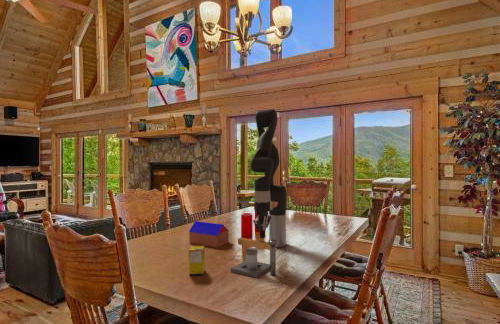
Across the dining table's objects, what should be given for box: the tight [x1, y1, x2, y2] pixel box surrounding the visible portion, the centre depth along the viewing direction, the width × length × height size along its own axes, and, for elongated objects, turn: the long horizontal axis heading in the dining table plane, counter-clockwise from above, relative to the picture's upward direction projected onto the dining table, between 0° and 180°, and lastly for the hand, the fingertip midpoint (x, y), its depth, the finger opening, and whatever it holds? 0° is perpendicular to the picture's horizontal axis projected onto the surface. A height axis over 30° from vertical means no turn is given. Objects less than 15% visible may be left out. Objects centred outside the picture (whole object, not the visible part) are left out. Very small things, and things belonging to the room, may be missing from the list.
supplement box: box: [188, 245, 206, 276], centre depth 133 cm, size 6×6×11 cm
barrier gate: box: [237, 237, 277, 276], centre depth 134 cm, size 4×19×14 cm, turn 58°
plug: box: [245, 247, 258, 270], centre depth 136 cm, size 5×5×9 cm
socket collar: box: [230, 260, 270, 279], centre depth 136 cm, size 13×13×2 cm
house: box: [188, 220, 229, 248], centre depth 180 cm, size 12×20×12 cm, turn 60°
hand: (262, 237), depth 144 cm, fingers closed
